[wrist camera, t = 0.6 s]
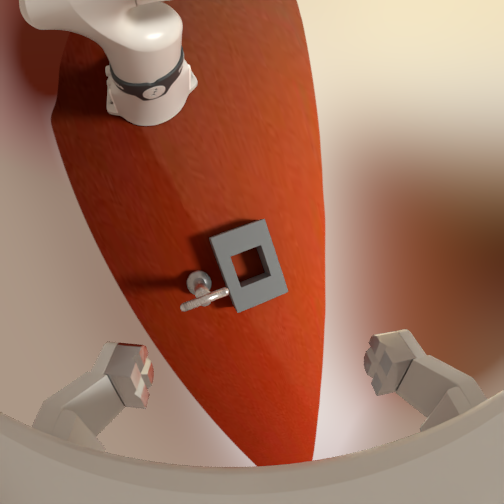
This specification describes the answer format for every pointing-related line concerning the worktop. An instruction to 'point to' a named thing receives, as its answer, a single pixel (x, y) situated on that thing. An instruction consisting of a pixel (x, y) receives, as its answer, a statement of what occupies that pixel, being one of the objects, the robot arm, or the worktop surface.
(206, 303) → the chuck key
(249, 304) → the grey block with hole
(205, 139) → the worktop surface
